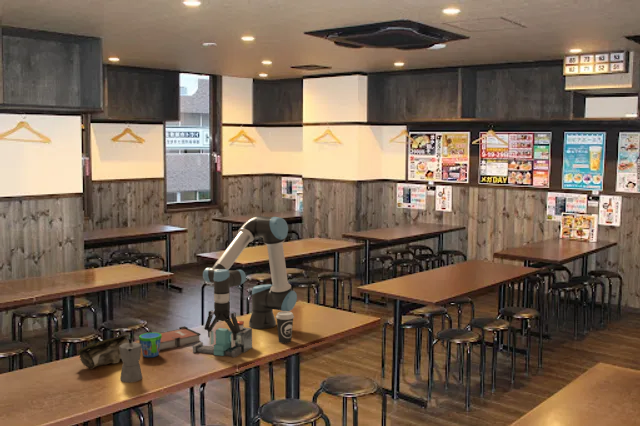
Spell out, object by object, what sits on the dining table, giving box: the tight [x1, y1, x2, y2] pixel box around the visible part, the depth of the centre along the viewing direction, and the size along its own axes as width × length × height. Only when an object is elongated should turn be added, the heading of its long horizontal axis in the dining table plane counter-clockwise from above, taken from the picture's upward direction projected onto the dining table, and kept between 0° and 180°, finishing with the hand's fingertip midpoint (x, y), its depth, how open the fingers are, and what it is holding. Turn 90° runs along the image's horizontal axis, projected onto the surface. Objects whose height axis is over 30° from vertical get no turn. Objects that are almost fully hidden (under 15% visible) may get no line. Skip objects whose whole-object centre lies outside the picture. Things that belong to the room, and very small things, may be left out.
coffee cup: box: [275, 311, 295, 344], centre depth 338 cm, size 10×10×15 cm
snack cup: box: [138, 332, 162, 358], centre depth 315 cm, size 16×10×10 cm
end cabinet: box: [229, 326, 253, 354], centre depth 325 cm, size 9×9×10 cm
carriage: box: [213, 327, 231, 357], centre depth 318 cm, size 8×5×12 cm, turn 160°
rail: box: [192, 341, 242, 358], centre depth 320 cm, size 7×23×3 cm, turn 70°
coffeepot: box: [119, 338, 143, 384], centre depth 283 cm, size 15×9×18 cm, turn 13°
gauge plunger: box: [237, 320, 245, 331], centre depth 324 cm, size 4×4×6 cm
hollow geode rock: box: [75, 334, 130, 370], centre depth 302 cm, size 28×13×15 cm
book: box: [138, 326, 202, 351], centre depth 336 cm, size 26×18×5 cm
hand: (222, 345), depth 318 cm, fingers open, 11 cm apart
